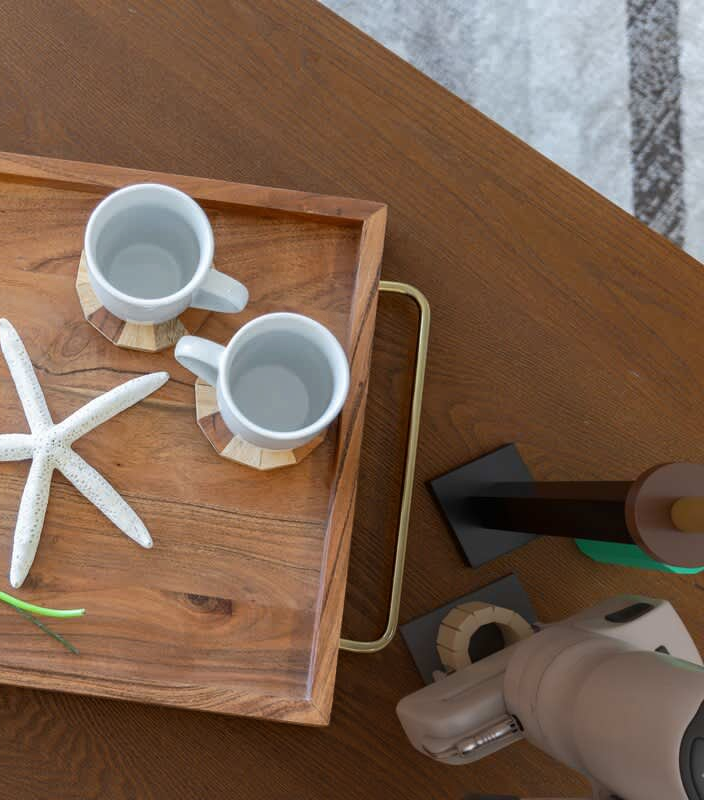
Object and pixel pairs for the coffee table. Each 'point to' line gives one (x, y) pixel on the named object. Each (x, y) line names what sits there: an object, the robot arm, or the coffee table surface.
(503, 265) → the coffee table surface
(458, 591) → the coffee table surface
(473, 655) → the mat
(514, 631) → the tan segmented ring
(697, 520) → the stand
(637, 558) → the candle
